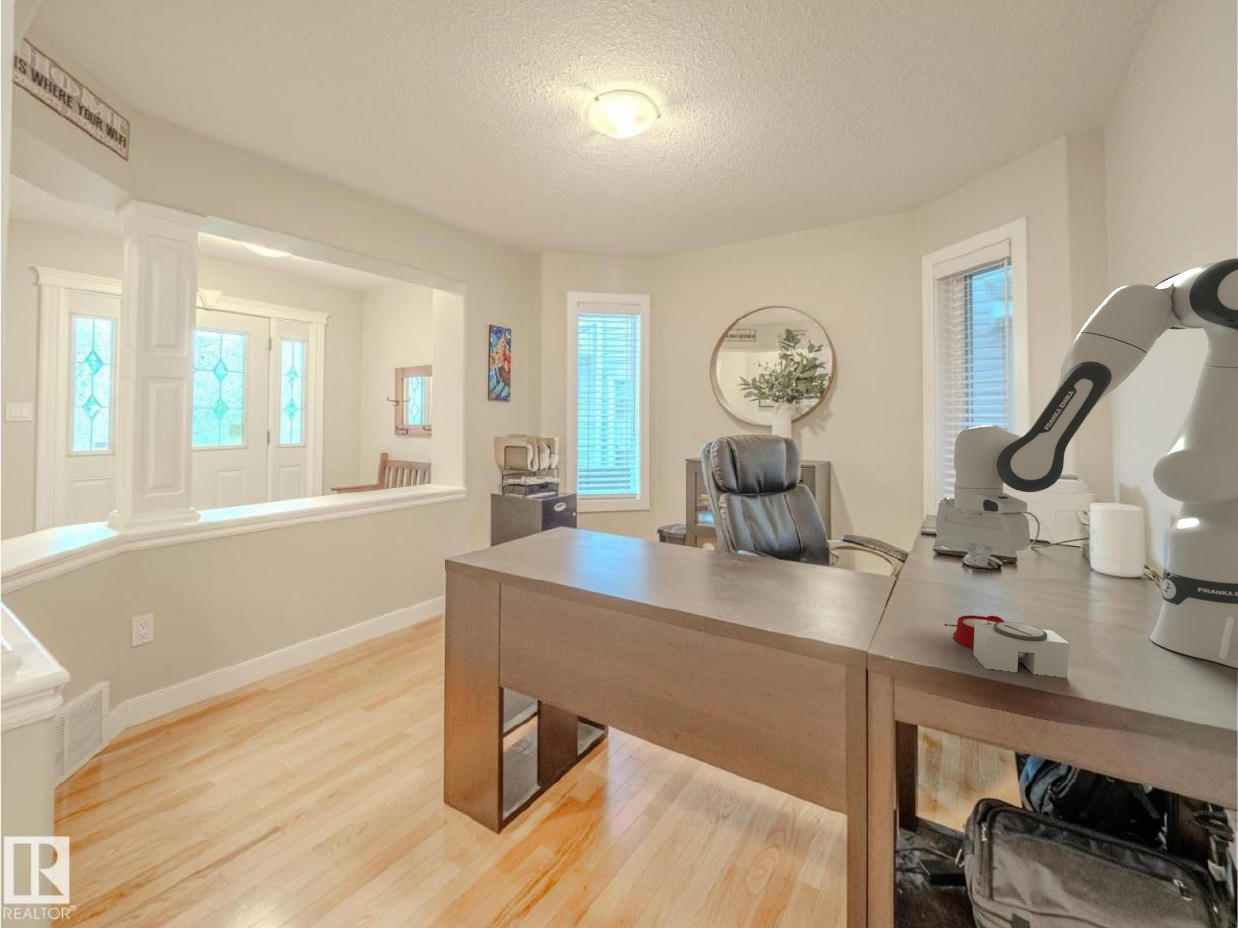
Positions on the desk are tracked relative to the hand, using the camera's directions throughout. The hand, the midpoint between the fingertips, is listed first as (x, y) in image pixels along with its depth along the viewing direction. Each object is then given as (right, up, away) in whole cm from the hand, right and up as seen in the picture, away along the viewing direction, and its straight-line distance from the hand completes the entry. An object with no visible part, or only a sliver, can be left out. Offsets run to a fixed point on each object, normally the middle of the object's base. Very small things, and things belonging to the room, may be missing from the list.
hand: (978, 564), depth 117 cm
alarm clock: (-4, -14, -10) cm, 18 cm away
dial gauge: (-7, -14, -21) cm, 27 cm away
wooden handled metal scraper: (-7, -13, -20) cm, 24 cm away
